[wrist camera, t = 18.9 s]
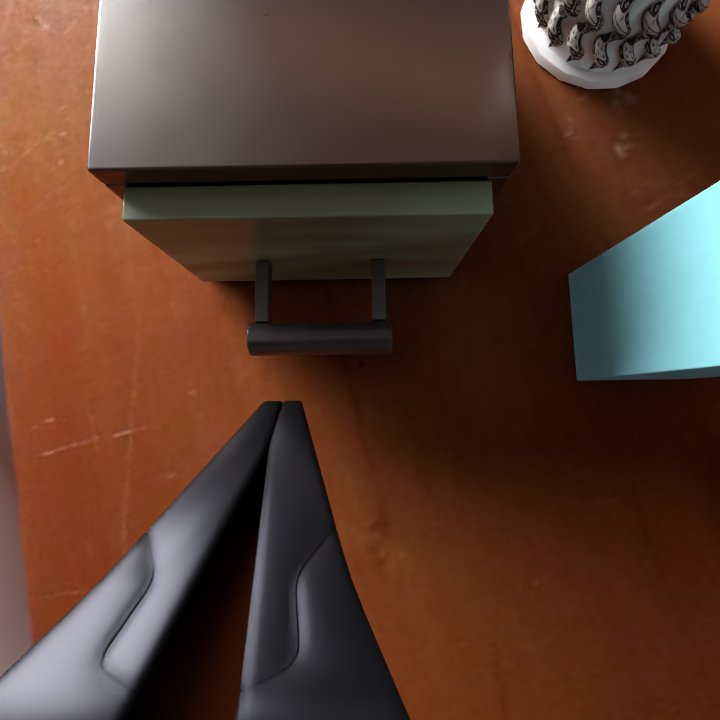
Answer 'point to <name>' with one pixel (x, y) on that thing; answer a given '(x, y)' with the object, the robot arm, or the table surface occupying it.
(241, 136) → the cabinet
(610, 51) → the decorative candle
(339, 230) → the drawer
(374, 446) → the table surface
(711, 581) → the table surface
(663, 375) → the sponge
